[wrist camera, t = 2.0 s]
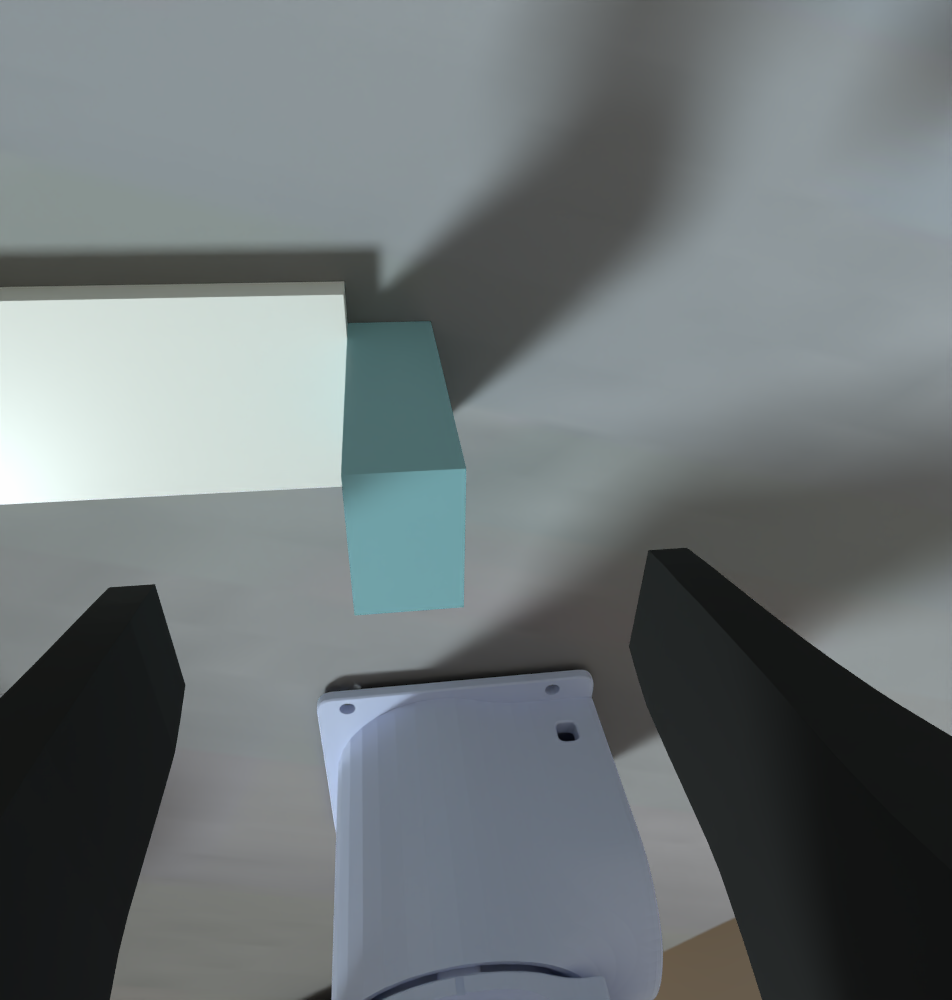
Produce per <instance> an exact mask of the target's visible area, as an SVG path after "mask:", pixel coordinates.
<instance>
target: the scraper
mask: <svg viewBox="0 0 952 1000" xmlns="http://www.w3.org/2000/svg"><path fill="white" fill-rule="evenodd" d="M323 487H342V491H343V501H344V511H345V522H346V532H347V542H348V552H349V563H350V573H351V583H352V593H353V603H354V614H355V615H366V614H379V613H392V612H405V611H419V610H432V609H445V608H458V607H464V559H465V504H466V466H465V462H464V458H463V454H462V449H461V445H460V441H459V437H458V433H457V429H456V425H455V420H454V416H453V412H452V408H451V404H450V400H449V395H448V391H447V387H446V383H445V379H444V375H443V370H442V366H441V362H440V358H439V354H438V350H437V346H436V341H435V337H434V333H433V329H432V325H431V321H415V322H373V323H348V322H347V309H346V297H345V284H344V281H336V282H275V283H215V284H154V285H93V286H33V287H0V504H19V503H38V502H57V501H76V500H95V499H114V498H133V497H152V496H171V495H190V494H209V493H228V492H247V491H266V490H285V489H304V488H323Z"/></svg>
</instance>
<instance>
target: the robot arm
mask: <svg viewBox="0 0 952 1000" xmlns="http://www.w3.org/2000/svg"><path fill="white" fill-rule="evenodd" d="M629 648H630V652H631V655H632V659H633V662H634V666H635V669H636V673H637V676H638V680H639V683H640V686H641V689H642V692H643V695H644V698H645V702H646V705H647V707H648V710H649V712H650V714H651V717H652V719H653V721H654V724H655V726H656V728H657V730H658V733H659V735H660V737H661V739H662V742H663V744H664V746H665V748H666V751H667V753H668V755H669V757H670V760H671V762H672V764H673V766H674V768H675V771H676V773H677V775H678V777H679V779H680V782H681V784H682V786H683V788H684V790H685V793H686V795H687V797H688V799H689V802H690V804H691V806H692V808H693V810H694V813H695V815H696V817H697V819H698V821H699V824H700V826H701V828H702V830H703V832H704V835H705V837H706V839H707V841H708V844H709V846H710V849H711V851H712V854H713V856H714V859H715V861H716V864H717V866H718V868H719V871H720V874H721V876H722V879H723V882H724V885H725V888H726V891H727V894H728V897H729V900H730V903H731V906H732V909H733V912H734V914H735V917H736V920H737V923H738V926H739V929H740V932H741V935H742V938H743V941H744V944H745V947H746V950H747V953H748V956H749V959H750V963H751V966H752V969H753V972H754V975H755V978H756V982H757V985H758V988H759V991H760V994H761V997H762V1000H952V736H950V735H949V734H947V733H945V732H944V731H942V730H940V729H939V728H937V727H935V726H934V725H932V724H930V723H929V722H927V721H925V720H924V719H922V718H920V717H919V716H917V715H916V714H914V713H912V712H911V711H909V710H907V709H906V708H904V707H902V706H901V705H899V704H897V703H896V702H894V701H893V700H891V699H890V698H888V697H887V696H885V695H883V694H882V693H880V692H879V691H877V690H876V689H874V688H873V687H871V686H870V685H868V684H867V683H865V682H864V681H863V680H861V679H860V678H858V677H857V676H855V675H854V674H852V673H851V672H849V671H848V670H847V669H845V668H844V667H842V666H841V665H839V664H838V663H836V662H835V661H834V660H832V659H831V658H829V657H828V656H826V655H825V654H824V653H822V652H821V651H820V650H818V649H817V648H816V647H814V646H813V645H811V644H810V643H809V642H807V641H806V640H805V639H803V638H802V637H801V636H799V635H798V634H797V633H795V632H794V631H793V630H791V629H790V628H789V627H787V626H786V625H785V624H783V623H782V622H781V621H780V620H778V619H777V618H776V617H774V616H773V615H772V614H771V613H769V612H768V611H767V610H765V609H764V608H763V607H762V606H760V605H759V604H758V603H756V602H755V601H754V600H753V599H751V598H750V597H749V596H748V595H746V594H745V593H744V592H743V591H741V590H740V589H739V588H738V587H736V586H735V585H734V584H733V583H731V582H730V581H729V580H728V579H726V578H725V577H724V576H723V575H721V574H720V573H719V572H718V571H716V570H715V569H714V568H712V567H711V566H710V565H709V564H707V563H706V562H705V561H704V560H702V559H701V558H700V557H698V556H697V555H696V554H694V553H693V552H692V551H690V550H689V549H687V548H678V549H663V550H649V551H648V555H647V560H646V565H645V570H644V575H643V580H642V585H641V590H640V595H639V600H638V605H637V610H636V615H635V620H634V625H633V630H632V635H631V640H630V644H629ZM549 685H552V686H549ZM593 686H594V683H593V679H592V676H591V674H590V673H589V672H588V671H585V670H569V671H558V672H547V673H536V674H525V675H514V676H502V677H491V678H480V679H469V680H458V681H447V682H436V683H424V684H413V685H402V686H391V687H380V688H369V689H358V690H346V691H335V692H328V693H325V694H323V695H322V696H320V698H319V699H318V703H317V714H318V721H319V727H320V734H321V740H322V747H323V753H324V760H325V766H326V773H327V780H328V786H329V793H330V799H331V806H332V812H333V819H334V825H335V831H336V861H335V895H334V929H333V963H332V998H331V1000H653V999H655V997H656V996H657V994H658V992H659V988H660V984H661V977H662V963H663V947H662V933H661V924H660V917H659V911H658V905H657V900H656V895H655V889H654V885H653V880H652V876H651V872H650V867H649V864H648V860H647V856H646V853H645V850H644V847H643V843H642V840H641V837H640V834H639V831H638V829H637V826H636V823H635V820H634V817H633V814H632V811H631V808H630V806H629V803H628V800H627V797H626V794H625V791H624V788H623V785H622V783H621V780H620V777H619V774H618V771H617V768H616V765H615V763H614V760H613V757H612V754H611V751H610V748H609V745H608V742H607V740H606V737H605V734H604V731H603V728H602V725H601V722H600V719H599V717H598V714H597V711H596V708H595V705H594V702H593V699H592V692H593ZM184 690H185V683H184V679H183V676H182V673H181V669H180V666H179V663H178V659H177V656H176V653H175V649H174V646H173V643H172V640H171V636H170V633H169V630H168V626H167V623H166V620H165V616H164V613H163V610H162V606H161V603H160V600H159V596H158V593H157V590H156V586H155V584H153V585H139V586H124V587H110V588H108V589H107V590H106V591H105V592H104V593H103V594H102V595H101V596H100V597H99V598H98V599H97V600H96V601H95V602H94V603H93V604H92V605H91V606H90V607H89V608H88V609H87V610H86V611H85V612H84V613H83V614H82V616H81V617H80V618H79V619H78V620H77V621H76V622H75V623H74V624H73V625H72V626H71V627H70V628H69V629H68V630H67V631H66V632H65V633H64V634H63V635H62V636H61V637H60V638H59V639H58V640H57V641H56V642H55V643H54V644H53V645H52V646H51V648H50V649H49V650H48V651H47V652H46V653H45V654H44V655H43V656H42V657H41V658H40V659H39V660H38V661H37V662H36V663H35V664H34V665H33V666H32V667H31V668H30V669H29V670H28V671H27V672H26V673H25V674H24V675H23V676H22V677H21V678H20V679H19V680H18V681H17V682H16V683H15V684H14V685H13V686H12V687H11V688H10V689H9V690H8V691H7V692H6V693H5V694H4V695H3V696H2V697H1V698H0V1000H110V995H111V990H112V985H113V979H114V974H115V969H116V964H117V958H118V953H119V949H120V945H121V941H122V937H123V933H124V929H125V925H126V921H127V917H128V913H129V909H130V906H131V903H132V899H133V896H134V892H135V889H136V886H137V882H138V879H139V875H140V872H141V868H142V865H143V862H144V858H145V855H146V851H147V848H148V844H149V841H150V838H151V834H152V831H153V827H154V824H155V821H156V817H157V814H158V810H159V807H160V803H161V800H162V796H163V793H164V789H165V786H166V782H167V779H168V775H169V772H170V768H171V765H172V761H173V757H174V754H175V748H176V743H177V737H178V731H179V725H180V718H181V711H182V704H183V697H184ZM344 704H350V705H344Z"/></svg>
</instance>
